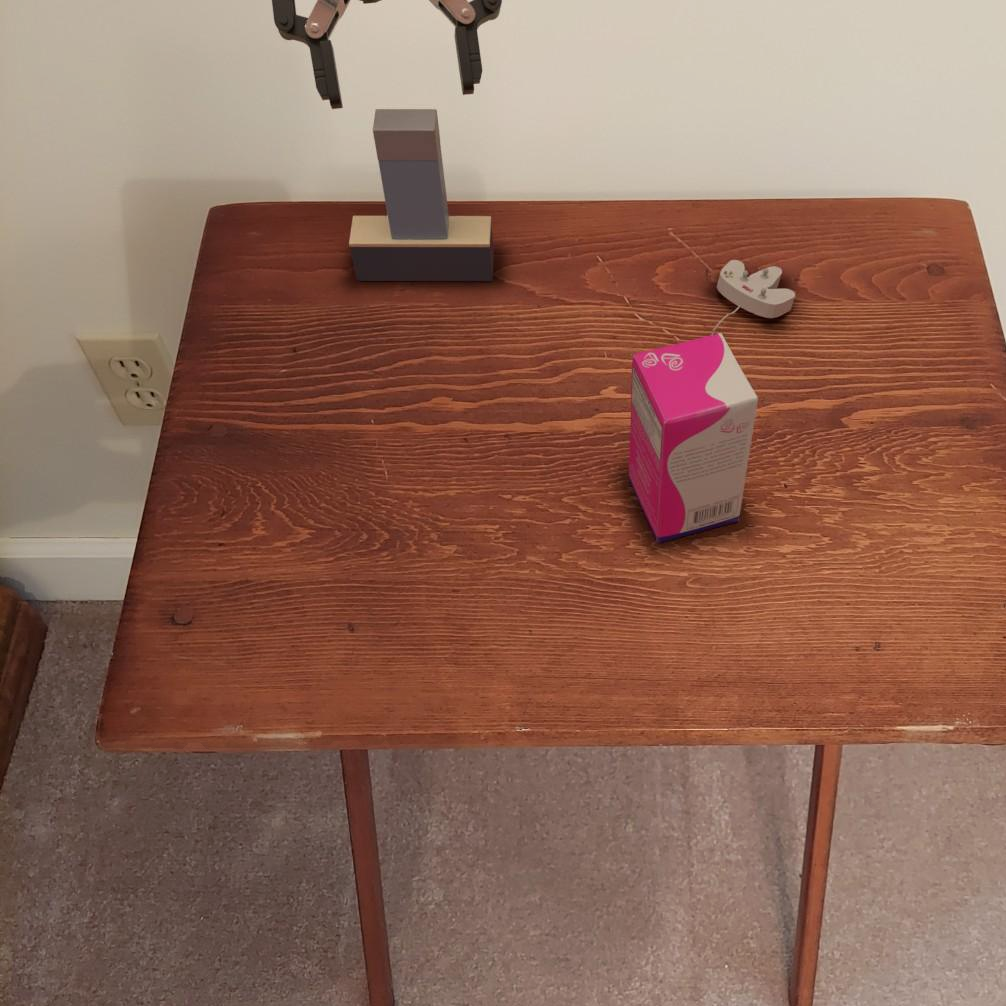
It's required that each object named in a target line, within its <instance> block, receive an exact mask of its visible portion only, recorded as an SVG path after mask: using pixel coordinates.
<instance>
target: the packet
mask: <svg viewBox="0 0 1006 1006" xmlns="http://www.w3.org/2000/svg"><path fill="white" fill-rule="evenodd" d="M374 111H375V112H374V119H373V126H372V133H373V139H374V146H375V151H376V157H377V161H378V167H379V174H380V178H381V185H382V191H383V196H384V202H385V208H386V214H387V215H386V216H388V220H389V226H390V232H391V238H392V239H448V227H449V216H450V215H449V206H448V197H447V188H446V180H445V171H444V163H443V154H442V145H441V135H440V134H441V133H440V126H439V125H440V124H439V118H438V117H439V116H438V110H437V108H375V110H374Z"/></svg>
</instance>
